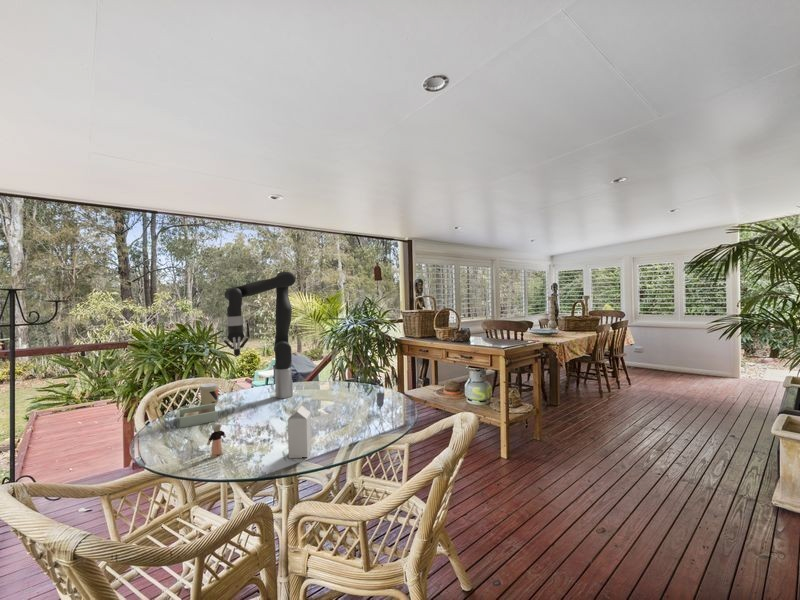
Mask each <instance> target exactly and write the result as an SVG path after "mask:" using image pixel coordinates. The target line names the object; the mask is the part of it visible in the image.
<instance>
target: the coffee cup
mask: <svg viewBox="0 0 800 600" xmlns="http://www.w3.org/2000/svg"><path fill="white" fill-rule="evenodd" d="M219 385H220V384H219V383H217V382H209V383H208V382H207V383H203V384H200V386H199V392H200V403H201V406H202V405H208V404H214V403H215V406H216V405H217V404H218V403H219V402H218V401H219ZM217 406H218V405H217ZM217 406H216V407H217Z"/></svg>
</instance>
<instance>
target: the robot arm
mask: <svg viewBox="0 0 800 600" xmlns="http://www.w3.org/2000/svg"><path fill="white" fill-rule="evenodd" d="M295 282H296V276H295V274H294V273H293V272H291V271H281V272H280V271H279V272H278V273H277V275H276V276H274V277H271V278H267V279H262V280H261V279H260V280H257V281H253V282H249V283H246V284H243V285H239V286H233V287H230V288H227V289H226V291H225V292H224V298H225V299H226V300H227V301H228V306H227V308H226V312H227V313H226V315H227V319H226V320H227V321H226V322H227V337H226V338H225V339H224V340H223V342H222V343H224V344H225V345H226V346H227V347H228V348H229V349H231V350H233V355H234V356H235V357H240V355H241V349H242V348H244V347H245V345H246V344H247V342H248V341H249V337H246V336H245V334H244V325H243V324H244V322H243V316H242V315H243V314H242V313H243V312H242V303H243V298H245V297H251V296H255V295H258V294H260V293H264V292H267V291H270V290H274V289H275V292H276V295H275V296H276V297H275V298H276V299H275V316H274V317H275V321H274V322H275V323H274V324H275V338H274V345H273V352H274V356H275V359H274V361H275V362H274V377H275V379H274V382H275V384H274V387H275V399H288V398H291V397H293V396H294V395H293V394H294V392H293V391H294V390H293V384H294V383H293V380H292V356H293V355H292V347H291V344H290V343H289V331H290V328H291V323H292V316H293V315H292V312H293V311H292V310H293V308H292V304H291V301H290V298H289V287H291V286H293V285H294V284H295ZM229 342H230V343H231V344H232V345H231V344H230V343H229Z"/></svg>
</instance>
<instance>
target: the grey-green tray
mask: <svg viewBox="0 0 800 600" xmlns="http://www.w3.org/2000/svg"><path fill="white" fill-rule="evenodd" d="M211 408H212V412H208V413H202V414H197V415H191V416H185V417H184V415H185V413H191V412H198V411H199V410H204V409H211ZM218 416H219V415H218V410H216V407H215V403H214V404H208V405H202V404H201V405H197V406H191V407H185V408H179V409H176V429H181V428H186V427H191V426H196V425H201V424H202V425H203V424H206V423H211V422H216V421H217V422H218V420H219V417H218Z"/></svg>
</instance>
